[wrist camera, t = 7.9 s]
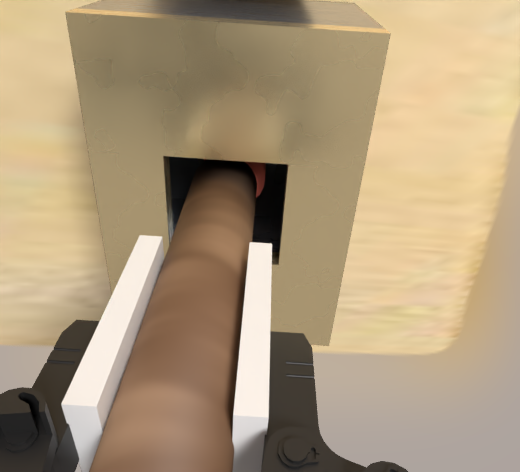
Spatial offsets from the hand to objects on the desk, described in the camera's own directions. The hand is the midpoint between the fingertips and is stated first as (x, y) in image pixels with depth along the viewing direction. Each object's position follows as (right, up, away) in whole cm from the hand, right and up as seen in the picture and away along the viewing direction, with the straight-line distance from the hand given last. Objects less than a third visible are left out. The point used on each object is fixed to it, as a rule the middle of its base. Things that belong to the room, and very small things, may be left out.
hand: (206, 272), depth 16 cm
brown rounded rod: (0, +4, +6) cm, 7 cm away
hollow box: (+1, +7, +11) cm, 13 cm away
